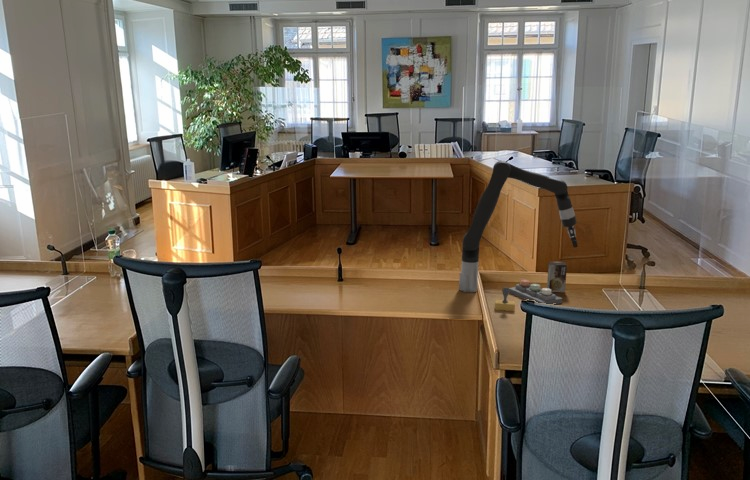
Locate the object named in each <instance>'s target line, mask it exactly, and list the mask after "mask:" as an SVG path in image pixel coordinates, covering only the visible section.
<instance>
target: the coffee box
mask: <svg viewBox="0 0 750 480" xmlns="http://www.w3.org/2000/svg"><path fill="white" fill-rule="evenodd" d="M547 268H548V270H547V280H546V281H547V283H546V288H549V289H551V293H566V281H567V269H568V265H567V263H566V261H548V267H547Z"/></svg>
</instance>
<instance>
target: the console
mask: <svg viewBox="0 0 750 480" xmlns="http://www.w3.org/2000/svg"><path fill="white" fill-rule="evenodd" d="M508 288H509V294H511V295H513V296H516V297H518V298H521V299H523V300H525V299H529V300H535V301H536V302H538V303H546V304H553V303H556V304H555V305H558V304H562V303H563V298H562V297H561V296H557V294H554V293H553V292H551V295H549V296H545V295H542V294H541V291H542V288H540V291H532V290H531V284H530V286H529V287H523V286H520V283H517V284H515V286H513V287H508ZM524 298H525V299H524Z"/></svg>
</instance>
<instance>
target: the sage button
mask: <svg viewBox="0 0 750 480" xmlns="http://www.w3.org/2000/svg"><path fill="white" fill-rule="evenodd" d="M530 285H531V290H532V291H540V289H541V284H538V283H531V284H530Z"/></svg>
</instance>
